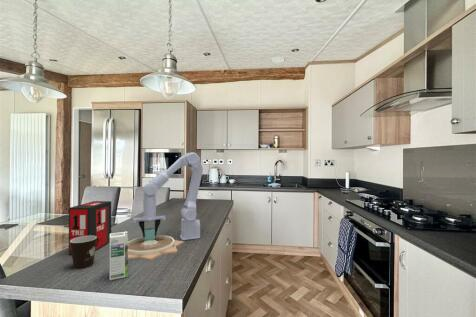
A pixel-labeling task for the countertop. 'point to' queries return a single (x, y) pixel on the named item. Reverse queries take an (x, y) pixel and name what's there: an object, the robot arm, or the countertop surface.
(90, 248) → the coffee mug
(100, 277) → the countertop surface
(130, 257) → the ring tray
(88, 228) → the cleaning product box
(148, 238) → the bead
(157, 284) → the countertop surface
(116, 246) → the syrup box
